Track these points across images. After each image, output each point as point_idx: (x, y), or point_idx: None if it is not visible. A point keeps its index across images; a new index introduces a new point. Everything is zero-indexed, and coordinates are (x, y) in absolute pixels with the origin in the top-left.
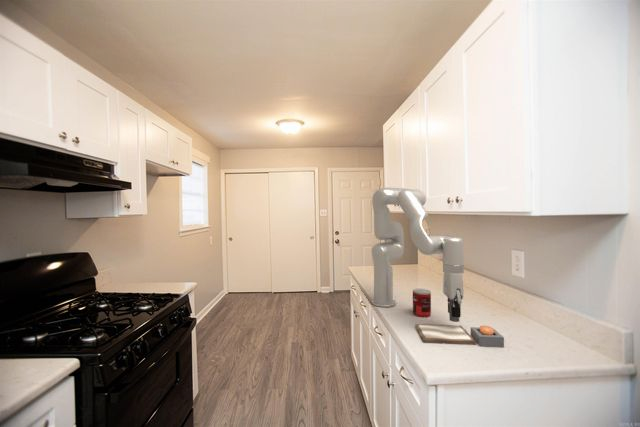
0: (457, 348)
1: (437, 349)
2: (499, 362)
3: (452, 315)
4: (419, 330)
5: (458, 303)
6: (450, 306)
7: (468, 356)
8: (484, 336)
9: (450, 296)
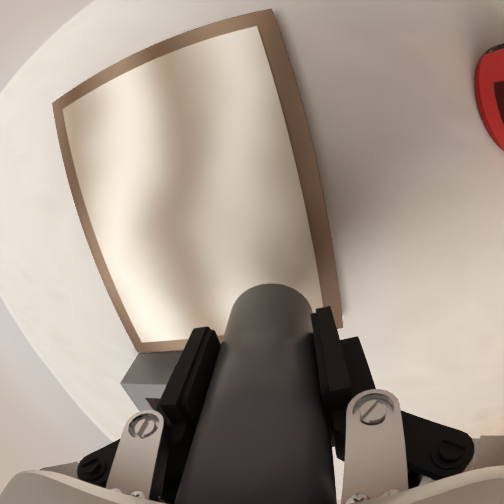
0: (72, 260)
1: (33, 175)
2: (65, 364)
3: (193, 336)
4: (155, 48)
5: (64, 470)
6: (222, 391)
7: (42, 289)
8: (132, 398)
9: (3, 491)
